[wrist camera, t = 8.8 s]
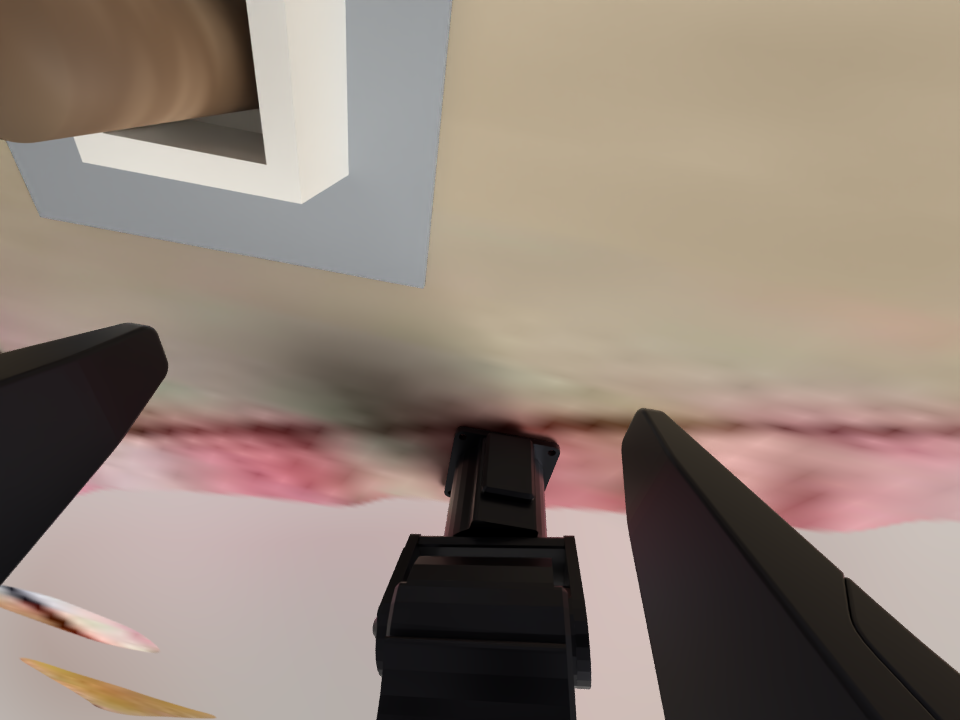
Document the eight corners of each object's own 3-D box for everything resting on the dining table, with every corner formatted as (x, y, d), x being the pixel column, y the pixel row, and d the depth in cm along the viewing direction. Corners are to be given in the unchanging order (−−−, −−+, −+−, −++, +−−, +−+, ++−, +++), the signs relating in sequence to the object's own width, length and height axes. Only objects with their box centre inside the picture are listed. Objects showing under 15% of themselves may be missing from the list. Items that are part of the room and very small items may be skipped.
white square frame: (348, 174, 17) (301, 204, 13) (177, 141, 17) (82, 162, 13) (344, -61, 13) (275, -112, 9) (119, -109, 13) (-42, -179, 9)
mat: (424, 285, 20) (423, 288, 20) (48, 214, 20) (40, 217, 19) (457, -56, 13) (456, -60, 13) (-125, -181, 13) (-142, -187, 12)
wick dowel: (296, 115, 16) (98, 157, 8) (206, 99, 16) (-74, 127, 8) (286, -3, 14) (12, -86, 6) (182, -22, 14) (-216, -129, 6)
